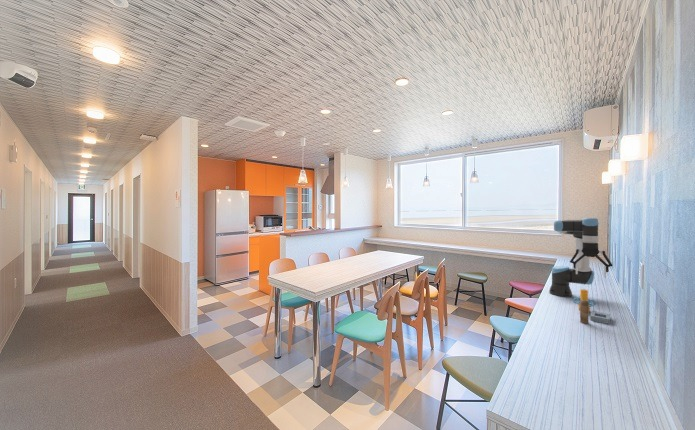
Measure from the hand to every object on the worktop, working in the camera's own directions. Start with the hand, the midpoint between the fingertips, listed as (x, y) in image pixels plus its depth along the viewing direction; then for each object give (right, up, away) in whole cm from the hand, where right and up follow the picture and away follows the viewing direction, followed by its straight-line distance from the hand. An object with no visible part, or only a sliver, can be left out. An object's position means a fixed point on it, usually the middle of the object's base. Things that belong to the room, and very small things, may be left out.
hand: (590, 275), depth 174 cm
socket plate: (+11, -30, +5) cm, 32 cm away
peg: (-3, -30, +1) cm, 31 cm away
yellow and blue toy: (+13, -30, +20) cm, 38 cm away
